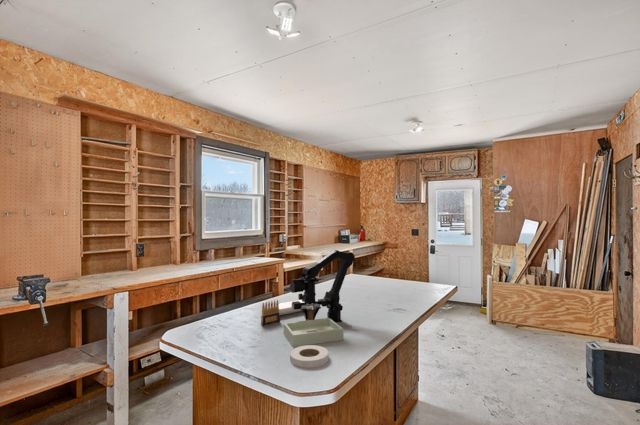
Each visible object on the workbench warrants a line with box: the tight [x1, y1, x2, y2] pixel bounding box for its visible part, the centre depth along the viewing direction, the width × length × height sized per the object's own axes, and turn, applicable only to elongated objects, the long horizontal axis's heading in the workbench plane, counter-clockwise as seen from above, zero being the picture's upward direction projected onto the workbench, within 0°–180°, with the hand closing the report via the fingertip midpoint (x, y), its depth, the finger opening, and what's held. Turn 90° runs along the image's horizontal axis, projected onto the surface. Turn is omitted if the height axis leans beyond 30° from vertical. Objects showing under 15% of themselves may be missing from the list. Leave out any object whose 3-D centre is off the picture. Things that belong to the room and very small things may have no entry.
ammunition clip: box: [260, 299, 281, 327], centre depth 172 cm, size 11×2×12 cm, turn 131°
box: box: [283, 318, 344, 348], centre depth 152 cm, size 24×18×5 cm
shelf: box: [267, 299, 313, 316], centre depth 192 cm, size 12×30×5 cm, turn 127°
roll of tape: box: [289, 344, 330, 369], centre depth 127 cm, size 16×15×3 cm
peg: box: [307, 308, 313, 320], centre depth 169 cm, size 4×4×8 cm
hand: (310, 320), depth 169 cm, fingers closed on peg, 4 cm apart
